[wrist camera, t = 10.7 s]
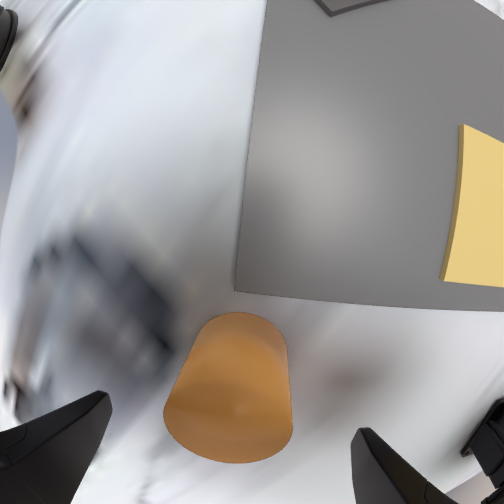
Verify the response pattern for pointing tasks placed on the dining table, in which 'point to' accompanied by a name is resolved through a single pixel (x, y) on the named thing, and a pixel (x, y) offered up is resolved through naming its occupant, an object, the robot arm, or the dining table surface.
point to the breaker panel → (377, 155)
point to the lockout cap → (233, 392)
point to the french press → (6, 32)
